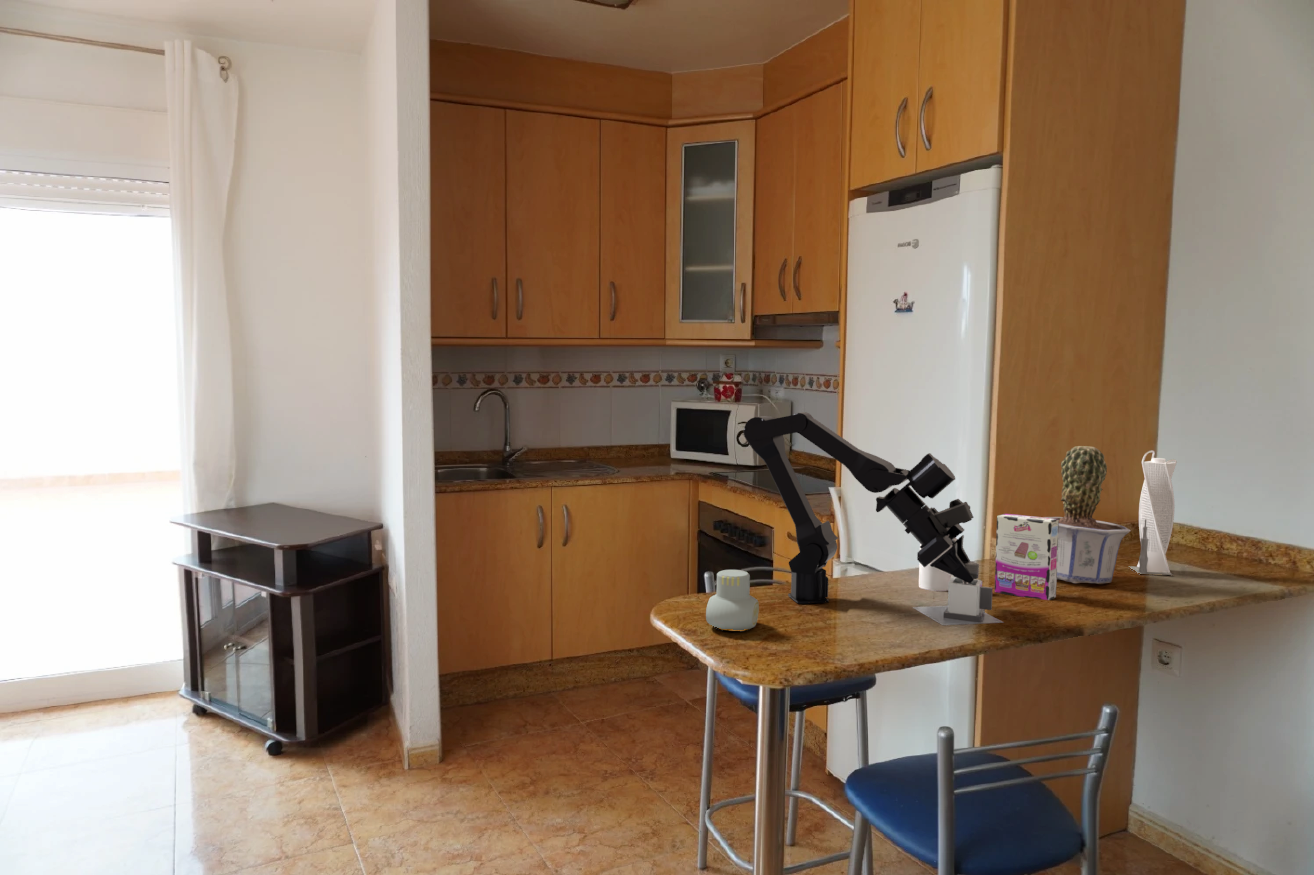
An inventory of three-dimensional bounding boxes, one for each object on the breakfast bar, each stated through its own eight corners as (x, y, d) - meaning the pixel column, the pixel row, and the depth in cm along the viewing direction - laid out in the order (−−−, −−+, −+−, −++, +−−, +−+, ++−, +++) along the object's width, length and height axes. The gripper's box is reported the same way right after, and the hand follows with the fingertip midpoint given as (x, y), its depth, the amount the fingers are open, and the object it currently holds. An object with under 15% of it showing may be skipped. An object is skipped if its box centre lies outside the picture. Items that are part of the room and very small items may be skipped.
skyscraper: (1126, 566, 209) (1132, 449, 207) (1162, 568, 208) (1168, 450, 206) (1140, 574, 201) (1146, 452, 199) (1178, 576, 200) (1185, 453, 198)
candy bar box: (1056, 597, 181) (1060, 518, 179) (1048, 602, 177) (1051, 521, 176) (1002, 588, 188) (1005, 512, 187) (993, 592, 184) (996, 514, 183)
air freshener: (750, 638, 152) (751, 581, 151) (703, 634, 154) (704, 578, 153) (760, 621, 162) (761, 568, 162) (716, 617, 165) (716, 564, 164)
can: (952, 595, 182) (954, 538, 181) (919, 593, 183) (921, 536, 182) (948, 587, 188) (950, 532, 187) (917, 586, 189) (918, 531, 188)
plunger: (950, 605, 163) (951, 564, 162) (954, 600, 167) (955, 560, 166) (975, 608, 161) (977, 567, 160) (978, 603, 165) (980, 562, 164)
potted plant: (1132, 593, 185) (1140, 450, 182) (1040, 585, 190) (1046, 447, 188) (1118, 574, 201) (1125, 443, 199) (1033, 568, 207) (1038, 441, 205)
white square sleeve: (943, 617, 162) (944, 583, 162) (949, 609, 168) (950, 575, 168) (989, 623, 159) (990, 588, 158) (993, 614, 165) (994, 580, 164)
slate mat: (942, 629, 158) (942, 625, 158) (911, 611, 170) (912, 607, 170) (1003, 626, 160) (1003, 622, 160) (969, 608, 172) (969, 604, 172)
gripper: (938, 493, 155) (1002, 561, 151) (954, 481, 172) (1012, 542, 168) (891, 532, 160) (953, 600, 156) (911, 517, 176) (967, 578, 172)
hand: (973, 578), depth 163 cm, fingers open, 5 cm apart
